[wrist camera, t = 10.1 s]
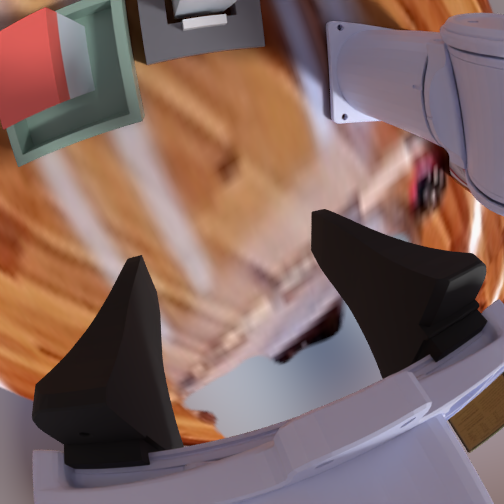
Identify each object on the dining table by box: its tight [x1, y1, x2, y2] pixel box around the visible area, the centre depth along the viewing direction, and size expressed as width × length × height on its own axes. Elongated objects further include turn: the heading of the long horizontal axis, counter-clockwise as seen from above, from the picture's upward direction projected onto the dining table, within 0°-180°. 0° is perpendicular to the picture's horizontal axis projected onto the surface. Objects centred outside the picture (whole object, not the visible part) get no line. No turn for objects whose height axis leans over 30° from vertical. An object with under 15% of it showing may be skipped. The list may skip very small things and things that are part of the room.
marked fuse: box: [0, 7, 95, 130], centre depth 10 cm, size 3×4×7 cm, turn 6°
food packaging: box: [448, 372, 504, 453], centre depth 36 cm, size 13×9×25 cm
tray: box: [6, 0, 145, 167], centre depth 12 cm, size 8×8×2 cm
